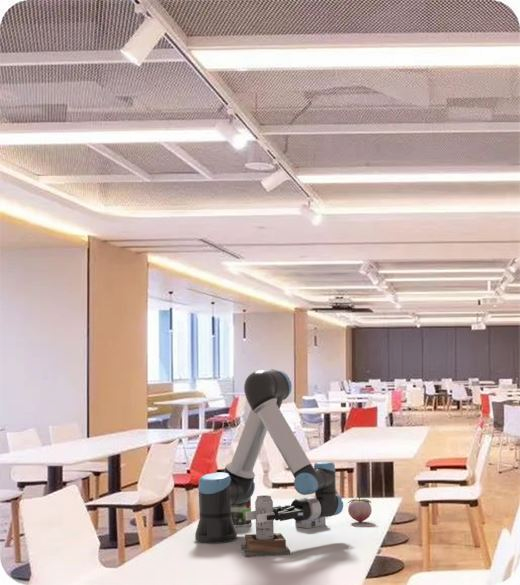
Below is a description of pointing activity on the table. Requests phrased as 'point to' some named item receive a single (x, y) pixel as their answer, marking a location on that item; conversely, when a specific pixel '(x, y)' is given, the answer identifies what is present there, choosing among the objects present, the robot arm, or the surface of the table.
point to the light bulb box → (310, 523)
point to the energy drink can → (264, 528)
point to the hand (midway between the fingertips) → (252, 517)
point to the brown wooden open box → (265, 546)
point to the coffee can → (241, 513)
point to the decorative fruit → (359, 509)
